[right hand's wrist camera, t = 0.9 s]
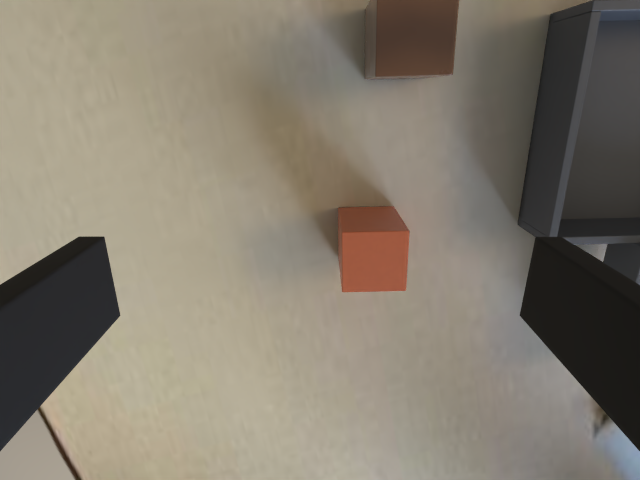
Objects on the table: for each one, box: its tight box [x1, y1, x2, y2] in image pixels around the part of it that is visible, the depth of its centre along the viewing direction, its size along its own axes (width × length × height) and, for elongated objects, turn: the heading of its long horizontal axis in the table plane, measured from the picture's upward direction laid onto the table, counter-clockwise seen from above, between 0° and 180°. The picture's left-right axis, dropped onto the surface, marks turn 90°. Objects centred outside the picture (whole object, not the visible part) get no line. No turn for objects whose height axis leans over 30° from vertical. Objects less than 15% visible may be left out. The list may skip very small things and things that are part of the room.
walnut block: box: [365, 0, 459, 80], centre depth 25 cm, size 4×4×6 cm
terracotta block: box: [338, 206, 409, 292], centre depth 30 cm, size 4×4×6 cm
